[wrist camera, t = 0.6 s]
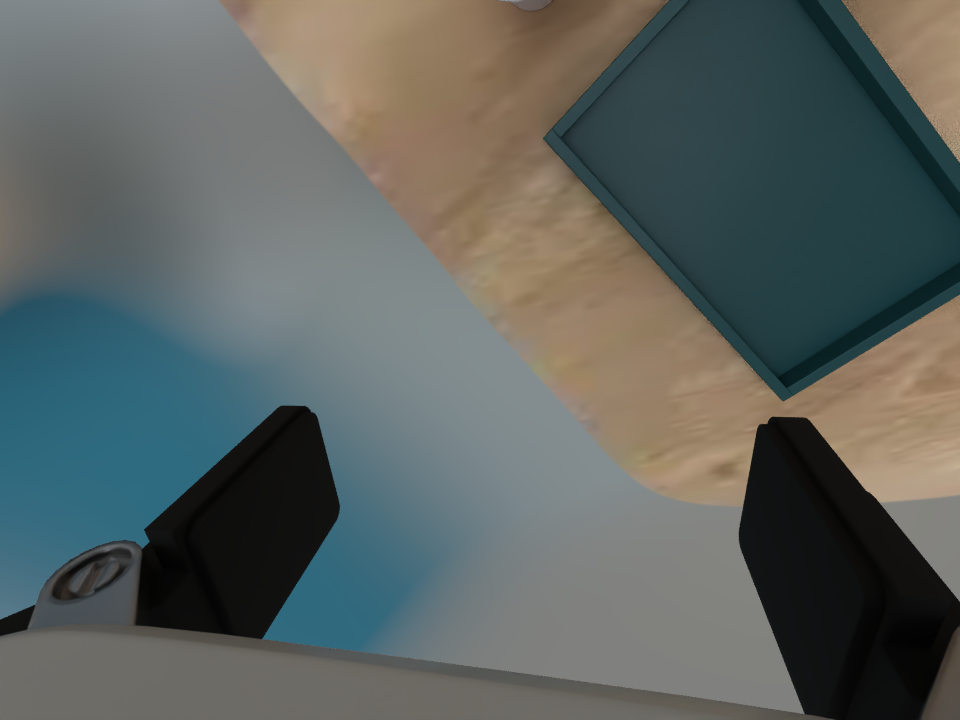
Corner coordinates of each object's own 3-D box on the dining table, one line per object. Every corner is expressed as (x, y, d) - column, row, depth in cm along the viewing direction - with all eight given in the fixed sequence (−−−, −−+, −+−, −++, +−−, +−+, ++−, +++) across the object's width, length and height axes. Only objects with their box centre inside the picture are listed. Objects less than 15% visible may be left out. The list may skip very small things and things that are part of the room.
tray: (750, -85, 27) (765, -105, 25) (996, 246, 31) (1026, 254, 29) (545, 138, 33) (542, 138, 31) (771, 387, 38) (783, 401, 36)
